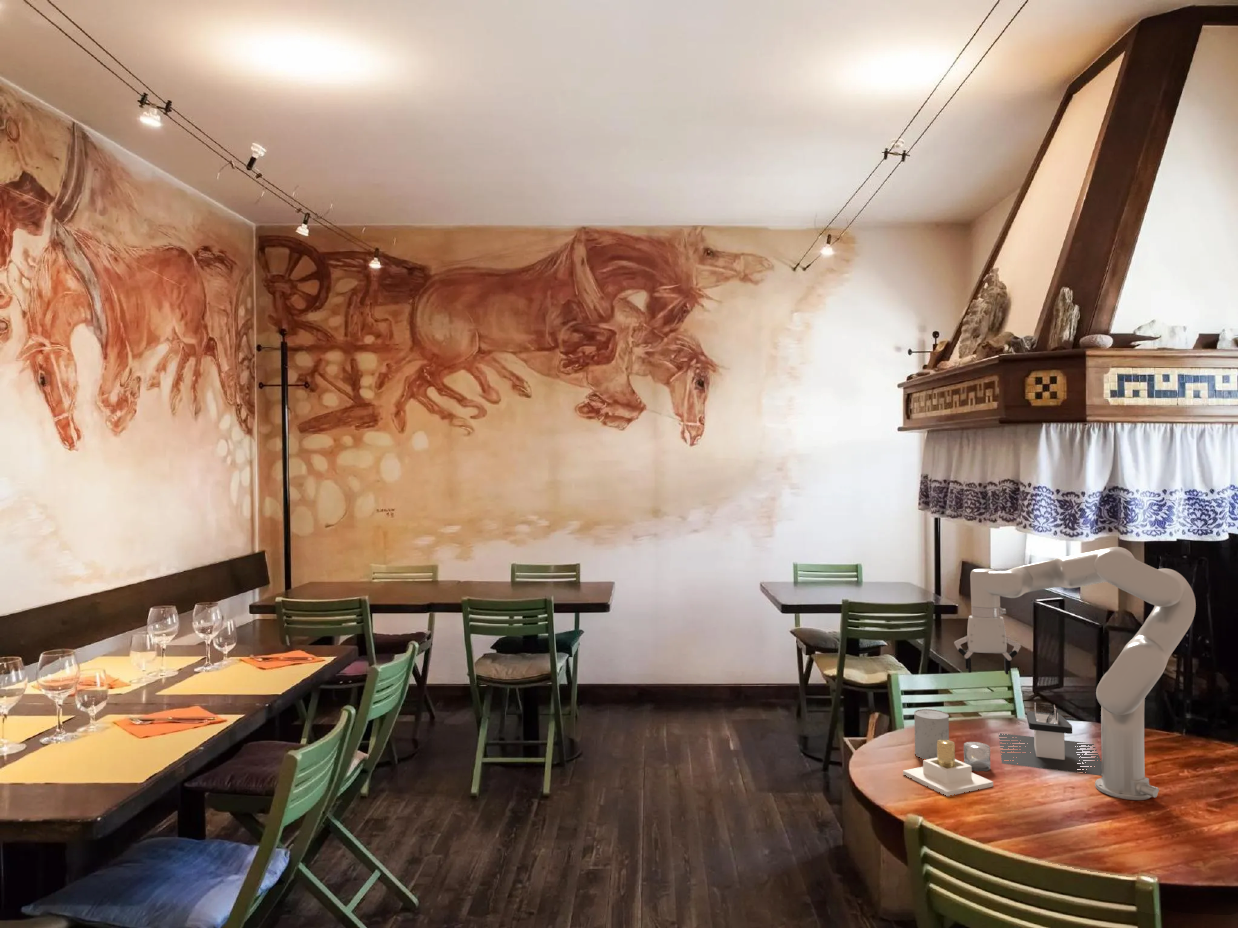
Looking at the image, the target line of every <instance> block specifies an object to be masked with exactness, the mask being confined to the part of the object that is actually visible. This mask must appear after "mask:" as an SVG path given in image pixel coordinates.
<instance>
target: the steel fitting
mask: <svg viewBox="0 0 1238 928" xmlns="http://www.w3.org/2000/svg"><path fill="white" fill-rule="evenodd" d="M963 763H966V764H968V765H970V766H972V771H973V772H979V771H985V772H989V771H991V747H990V745H989V744H987V743H982V742H979V741H966V742H964V743H963Z"/></svg>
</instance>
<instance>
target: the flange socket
mask: <svg viewBox="0 0 1238 928" xmlns="http://www.w3.org/2000/svg"><path fill="white" fill-rule="evenodd" d="M972 771H973V770H972V766H970V765H968V764H966V763H964V761H962V760H961V761H960V760H958V759H956V758H955V767H954V768H949V769H946V768H944V767H942V766H940V765H937V758H932V759H927V760H923V759H922V766H918V767H915V768H909V769H903V770H902V775H903V776H904V775H906V776H907V777H906V776H905V777H906V778H908V777H909V779H910V778H912V779H911V780H913V781H915V782H917V783H918V784H920V785H923V786H925V787H927V786H928V787H927V788H929V789H931V790H933V789H934V790H933V791H935V792H937V793H939V792H940V794H941V795H943V794H944V795H943V796H945V795H946V796H945V797H951V796H950V795H952V796H956V795H959V794H965V793H970V792H973V791H978V789H979V790H983V789H988V788H991V787H994V781H993V780H991V779H988V778H986V777H983V776H981V775H979V774H976V773H974V772H972ZM969 791H970V792H969ZM964 792H965V793H964ZM954 794H955V795H954Z"/></svg>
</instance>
